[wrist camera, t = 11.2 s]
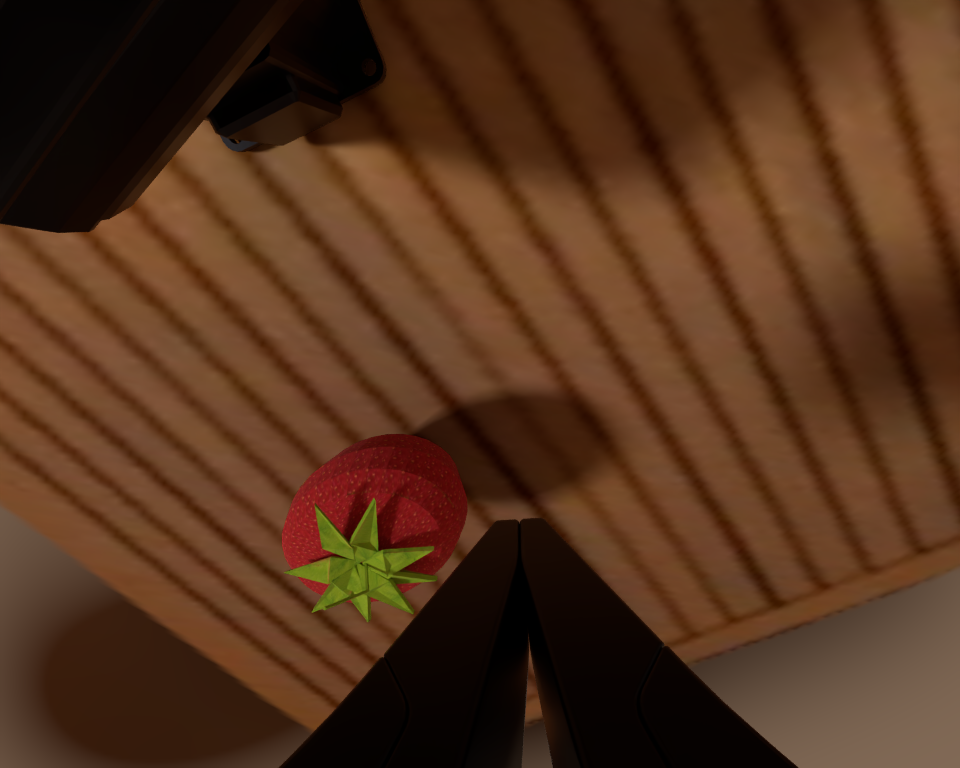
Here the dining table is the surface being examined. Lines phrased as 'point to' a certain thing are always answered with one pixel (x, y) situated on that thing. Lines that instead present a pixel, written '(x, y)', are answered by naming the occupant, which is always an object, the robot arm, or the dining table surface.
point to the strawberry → (375, 522)
